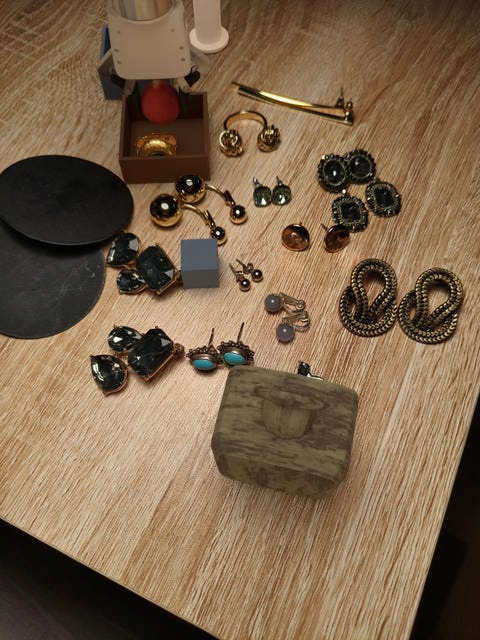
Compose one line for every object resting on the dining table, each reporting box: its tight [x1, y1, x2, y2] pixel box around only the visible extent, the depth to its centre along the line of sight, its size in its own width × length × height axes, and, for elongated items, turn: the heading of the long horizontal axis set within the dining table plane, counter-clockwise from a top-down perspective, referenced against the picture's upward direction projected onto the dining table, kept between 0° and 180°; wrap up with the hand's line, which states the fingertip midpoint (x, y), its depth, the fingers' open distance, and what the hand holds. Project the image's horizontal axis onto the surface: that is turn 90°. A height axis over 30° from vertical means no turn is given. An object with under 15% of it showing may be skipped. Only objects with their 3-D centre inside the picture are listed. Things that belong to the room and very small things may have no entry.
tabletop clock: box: [210, 364, 360, 500], centre depth 62 cm, size 14×9×25 cm, turn 77°
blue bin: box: [98, 24, 174, 101], centre depth 100 cm, size 11×11×6 cm
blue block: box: [180, 237, 220, 290], centre depth 83 cm, size 5×5×5 cm
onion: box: [140, 79, 181, 125], centre depth 86 cm, size 6×6×8 cm
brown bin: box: [117, 91, 211, 185], centre depth 93 cm, size 13×13×6 cm
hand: (161, 107), depth 87 cm, fingers closed on onion, 5 cm apart
